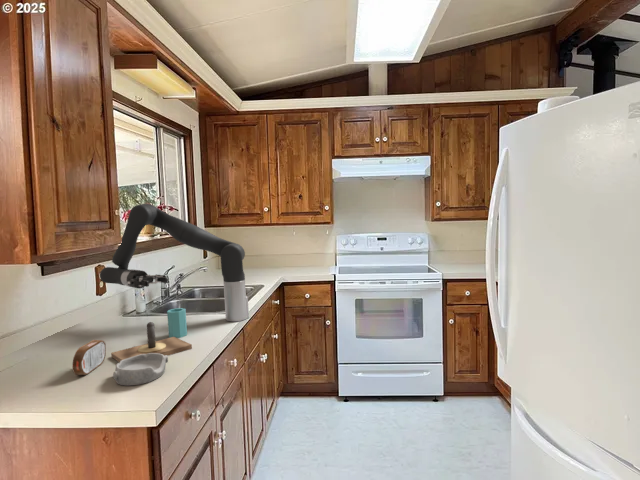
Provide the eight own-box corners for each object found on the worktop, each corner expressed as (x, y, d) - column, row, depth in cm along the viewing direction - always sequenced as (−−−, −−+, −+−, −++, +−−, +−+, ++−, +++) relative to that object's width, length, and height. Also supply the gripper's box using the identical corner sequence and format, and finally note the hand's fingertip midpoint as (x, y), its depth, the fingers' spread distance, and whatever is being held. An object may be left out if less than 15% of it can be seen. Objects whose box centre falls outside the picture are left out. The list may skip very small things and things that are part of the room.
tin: (99, 361, 136) (97, 336, 135) (108, 360, 136) (106, 335, 135) (72, 380, 121) (69, 352, 120) (83, 379, 121) (80, 351, 120)
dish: (170, 366, 129) (169, 350, 128) (160, 384, 115) (159, 367, 115) (122, 370, 127) (120, 354, 126) (105, 390, 113) (103, 372, 113)
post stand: (174, 340, 154) (172, 312, 153) (191, 348, 144) (189, 318, 143) (111, 357, 139) (108, 326, 138) (126, 367, 129) (123, 333, 128)
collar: (180, 332, 165) (178, 307, 164) (190, 334, 161) (188, 309, 160) (166, 336, 160) (164, 311, 159) (176, 338, 156) (174, 313, 155)
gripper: (117, 272, 168) (140, 275, 159) (149, 267, 179) (172, 270, 170) (118, 290, 168) (141, 294, 159) (150, 284, 180) (173, 288, 171)
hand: (157, 282), depth 165 cm, fingers open, 8 cm apart
